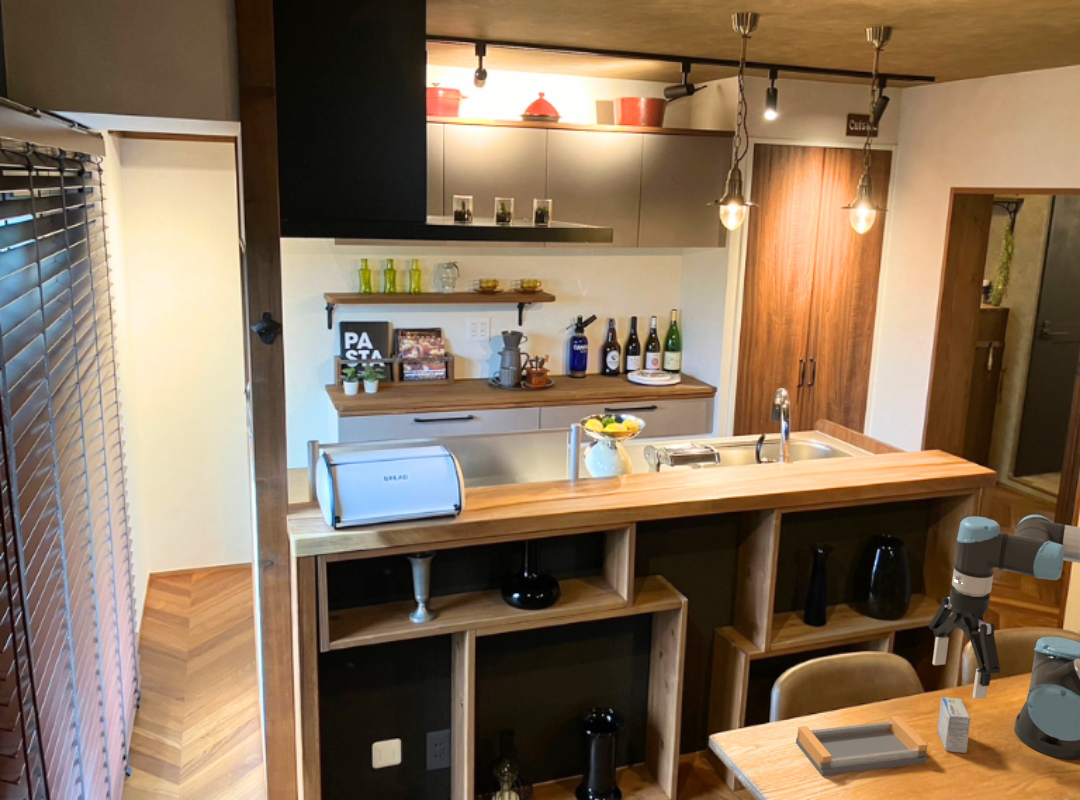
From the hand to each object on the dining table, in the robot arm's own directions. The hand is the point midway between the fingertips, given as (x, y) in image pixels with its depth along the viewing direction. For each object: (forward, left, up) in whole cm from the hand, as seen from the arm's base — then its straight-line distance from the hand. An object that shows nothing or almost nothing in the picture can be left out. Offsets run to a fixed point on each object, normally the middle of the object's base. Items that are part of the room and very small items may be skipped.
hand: (958, 680), depth 193 cm
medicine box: (0, 0, -15) cm, 15 cm away
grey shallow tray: (+22, 0, -15) cm, 27 cm away
